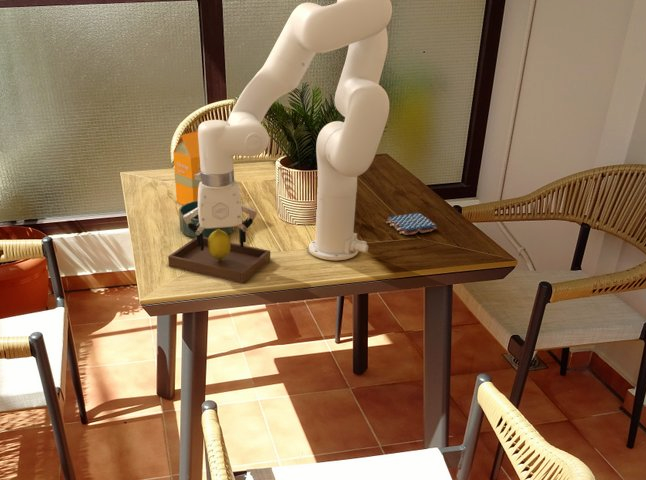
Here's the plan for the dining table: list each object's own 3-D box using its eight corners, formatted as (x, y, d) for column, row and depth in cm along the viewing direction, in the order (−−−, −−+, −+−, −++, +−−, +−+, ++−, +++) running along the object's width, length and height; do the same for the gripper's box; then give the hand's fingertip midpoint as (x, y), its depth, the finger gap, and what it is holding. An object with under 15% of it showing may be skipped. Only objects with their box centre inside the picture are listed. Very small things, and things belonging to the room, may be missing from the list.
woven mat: (418, 217, 205) (419, 210, 203) (437, 231, 196) (438, 224, 195) (385, 222, 202) (385, 215, 200) (403, 236, 193) (404, 229, 192)
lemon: (227, 266, 176) (226, 234, 171) (205, 263, 177) (204, 232, 172) (233, 256, 180) (232, 226, 176) (211, 254, 181) (210, 224, 177)
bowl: (244, 224, 199) (244, 205, 196) (217, 244, 188) (216, 224, 185) (198, 215, 205) (197, 196, 202) (169, 233, 194) (168, 214, 191)
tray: (270, 260, 180) (270, 250, 179) (243, 283, 170) (243, 273, 168) (198, 244, 188) (198, 235, 186) (168, 266, 177) (167, 256, 176)
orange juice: (216, 200, 214) (213, 131, 203) (193, 208, 209) (189, 138, 198) (198, 194, 219) (195, 126, 207) (176, 201, 213) (171, 132, 202)
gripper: (180, 185, 163) (186, 256, 173) (257, 180, 165) (259, 250, 175) (178, 174, 169) (185, 243, 179) (253, 169, 171) (255, 237, 181)
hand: (221, 246), depth 177 cm, fingers open, 9 cm apart
